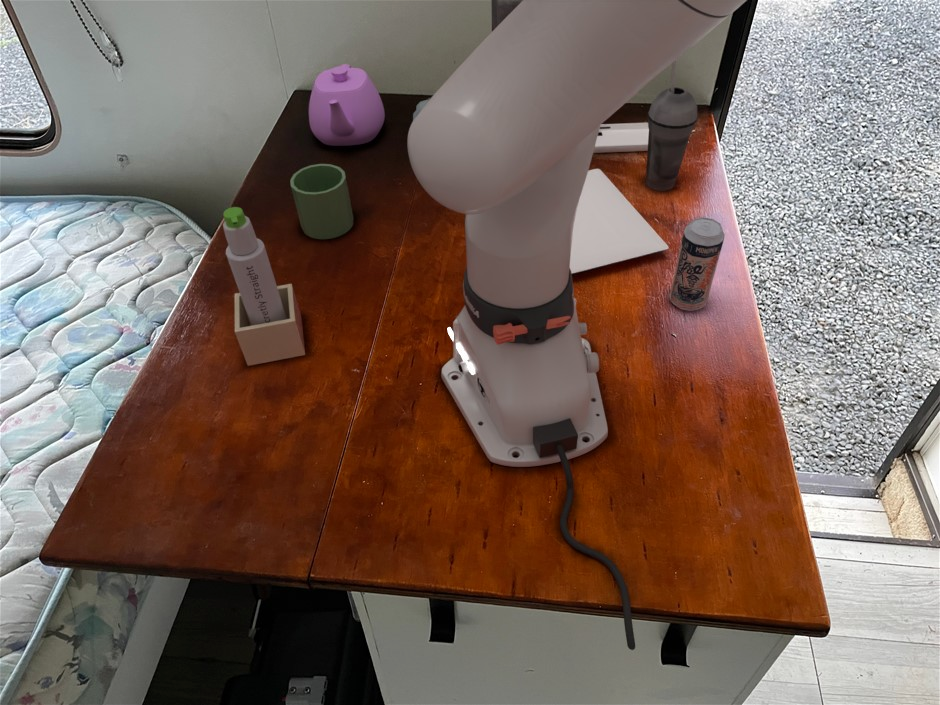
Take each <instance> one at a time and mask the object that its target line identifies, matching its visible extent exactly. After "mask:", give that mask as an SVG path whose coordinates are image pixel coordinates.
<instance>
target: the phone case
mask: <svg viewBox="0 0 940 705" xmlns="http://www.w3.org/2000/svg"><path fill="white" fill-rule="evenodd" d="M599 133H600V134H601V135H598V136H597V140H596V144H595V148H594V152H593V154H603V153H628V152H631V153H632V152H647V151H648V136H649V128H648V122H626V123H602V124H601V125H600V129H599ZM599 133H598V134H599Z"/></svg>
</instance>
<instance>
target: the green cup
mask: <svg viewBox="0 0 940 705" xmlns="http://www.w3.org/2000/svg"><path fill="white" fill-rule="evenodd" d="M289 182H290V189H291V192H292V196H293V200H294V204H295V208H296V212H297V216H298V220H299V224H300V228H301V231H302V232H303V234H304V235H305V236H308V237H309V238H311V239H316V240H331V239H335V238H338V237H342V236H343V235H345V234H346V233H348V232H349V231H350V230H351V229H352V227H353V226H354V222H355V219H354V218H355V217H354V214H353V207H352V204H351V197H350V193H349V192H350V191H349V187H348V182H347V176H346V172H345V170H343V169H342V168H341V167H340V166H338V165H333V164H330V163H317V164H311V165H307V166H305V167H302V168H300V169H299V170H298V171H296V172H295V173H293V174H292V176H291V178H290V180H289Z"/></svg>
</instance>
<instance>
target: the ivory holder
mask: <svg viewBox="0 0 940 705" xmlns="http://www.w3.org/2000/svg"><path fill="white" fill-rule="evenodd" d="M277 288H278V292H279V295H280V298H281V302H282V305H283V308H284V311H285V315H286V318H287V319H286V320H280V321H275V322H269V323H264V324H258V325H253V326H251V323H250V320H249V317H248V314H247V312H246V309H245V306H244V303H243V301H242V298H241V295H240V292H235V293H234V334H235V337H236V339H237V342H238V345H239V347H240V349H241V353H242V356H243V357H244V360H245V363H246V365H247V366H248V367H249V366H254V365H259V364H266V363H271V362H275V361H282V360H286V359H291V358H292V359H293V358H297V357H302V356H306V350H305V348H306V347H305V339H304V330H303V329H304V328H303V320H302V315H301V311H300V308H299V304H298V300H297V297H296V293H295V290H294V287H293V283H287V284H282V285H277Z"/></svg>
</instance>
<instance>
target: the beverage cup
mask: <svg viewBox="0 0 940 705" xmlns="http://www.w3.org/2000/svg"><path fill="white" fill-rule="evenodd" d="M676 62H677V59H676V60H675V61H674V62H673V63H672V64H671V71H670V73H671V74H670V87H668V88H666V89H664V90H662V91H661V92H660V93H658V94H657V95H656V96H655V98H654V99H653V100H652V103H651V105H650V107H649V110H648V112H647V123H648V128H649V136H648V151H646V154H647V155H646V169H645V174H646V175H645V178H646V179H645V184H646V186H647V187H648V188H650V189H651V190H654V191H658V192H666V191H670V190H672V189H673V188H674V187H675V184H676V181H677V179H678V176H679V173H680V169H681V166H682V164H683V160H684V156H685V154H686V150H687V147H688V143H689V139H690V136H691V134H692V132H693V130H694V128H695V125H696V123H697V122H698V119H699V118H698V104H697V101H696V99H695V97H694V96H693V95H692V93H690V92H689V91H688V90H687V89H685V88H682V87H675V86H676V66H677V64H676Z"/></svg>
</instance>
